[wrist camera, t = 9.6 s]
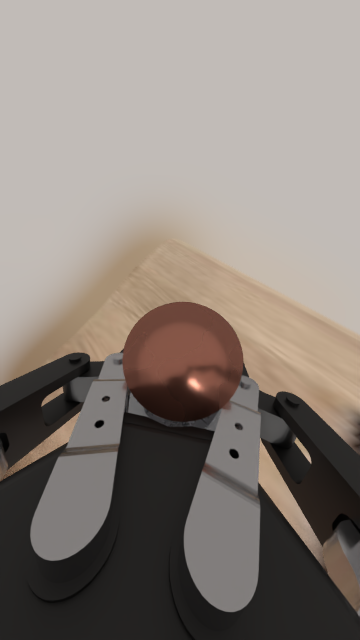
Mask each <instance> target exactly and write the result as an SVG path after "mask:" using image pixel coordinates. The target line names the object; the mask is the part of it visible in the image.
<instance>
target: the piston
mask: <svg viewBox="0 0 360 640" xmlns="http://www.w3.org/2000/svg"><path fill="white" fill-rule="evenodd" d="M122 359H123V372H124V377H125V380H126V383H127V385H128V387H129V390H130V391H131V393H132V394H133V396H134V397H135V399H136V400H137V401H138V402H139V403H140V404H141V405H142V406H143V407H144V408H145V409H146V410H148V411H149V412H151V413H153V414H154V415H156V416H159V417H161V418H163V419H167V420H171V421H177V422H190V421H196V420H200V419H203V418H206V417H208V416H210V415H212V414H214V413H216V412H217V411H219V410H220V409H221V408H223V407H224V406H225V405H226V404H227V403H228V402H229V400H230V399H231V398H232V396H233V395H234V393H235V392H236V390H237V388H238V386H239V383H240V380H241V377H242V372H243V353H242V348H241V345H240V341H239V339H238V337H237V335H236V333H235V331H234V330H233V328H232V327H231V326H230V324H229V323H228V322H227V321H226V320H225V319H224V318H223V317H222V316H221V315H219V314H218V313H217V312H215V311H213V310H212V309H210V308H208V307H205V306H203V305H200V304H196V303H190V302H175V303H169V304H165V305H162V306H159V307H157V308H155V309H153V310H151V311H150V312H148V313H147V314H146V315H144V316H143V317H142V318H141V319H140V320H139V321H138V322H137V323H136V324H135V326H134V327H133V329H132V330H131V332H130V334H129V335H128V338H127V340H126V343H125V346H124V350H123V358H122Z"/></svg>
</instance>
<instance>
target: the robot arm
mask: <svg viewBox="0 0 360 640" xmlns="http://www.w3.org/2000/svg"><path fill="white" fill-rule="evenodd" d="M123 350H124V349H123ZM123 350H122V351H121V352H120V353H114V354H111V355H109V356H108V357H106V359H105V361H100V362H90V356H89V355H88V354H85V353H72V354H68V355H66V356H64V357H62V358H59V359H57V360H55V361H53V362H51V363H49V364H46V365H44V366H42V367H40V368H38V369H36V370H33V371H31V372H29V373H27V374H25V375H23V376H21V377H19V378H16V379H14V380H12V381H10V382H8V383H5V384H3V385H1V386H0V640H360V456H359V455H358V454H357V453H356V452H355V451H354V450H353V449H352V448H351V447H350V446H349V445H348V444H347V443H346V442H345V441H344V440H343V439H342V438H341V437H340V436H339V435H338V434H337V433H336V432H335V431H334V430H333V429H332V428H331V427H330V426H329V425H328V424H327V423H326V422H325V421H324V420H323V419H322V418H321V417H320V416H319V415H318V414H317V413H315V412H314V411H313V410H312V409H311V408H310V407H309V406H308V405H307V404H306V403H305V402H304V401H303V400H302V399H301V398H299V397H298V396H296V395H294V394H292V393H289V392H278V393H277V395H276V397H273V396H271V395H268V394H266V393H264V392H262V391H260V390H259V386H258V384H257V383H256V382H255V381H254V380H253V379H251V378H249V376H248V373H247V370H246V368H245V365H244V363H243V372H242V377H241V380H240V383H239V386H238V388H237V390H236V392H235V393H234V395H233V396H232V398H231V399H230V400H229V402H228V403H227V404H226V405H225V406H224V407H223V408H222V411H221V414H220V417H219V420H218V423H217V427H216V430H215V431H212V430H208V429H203V428H198V427H194V426H186V427H168V426H165V425H163V424H161V423H159V422H157V421H155V420H153V419H151V418H149V417H146V416H142V415H137V414H132V413H128V411H129V401H130V393H131V391H130V390H129V387H128V385H127V383H126V380H125V377H124V372H123V359H122V358H123ZM62 386H63V392H64V393H62V394H61V395H59V396H58V397H56V398H54V399H53V400H51V401H50V402H48V403H47V404H45V405H44V406H42V407H41V404H42V401H43V400H44V398H45V397H46V396H48V395H49V394H51V393H52V392H54V391H55V390H57V389H59V388H60V387H62ZM80 411H81V412H80ZM79 412H80V414H79V417H78V419H77V422H76V424H75V427H74V429H73V432H72V434H71V437H70V440H69V442H68V443H66V444H64V445H62V446H61V447H59V448H57V449H56V450H54V451H52V452H50V453H49V454H47V455H45V456H43V457H42V458H40V459H38V460H37V461H35V462H33V463H31V464H30V465H28V466H26V467H24V468H23V469H21V470H19V471H18V472H16V473H14V474H12V475H11V476H9V477H7V478H5V479H4V480H2V481H1V479H2V478H3V477H4V475H5V473H6V471H7V470H8V469H9V468H10V467H12V466H13V465H14V464H15V463H17V462H18V461H19V460H20V459H22V458H23V457H24V456H25V455H26V454H28V453H29V452H30V451H31V450H33V449H34V448H35V447H36V446H38V445H39V444H40V443H41V442H43V441H44V440H45V439H46V438H48V437H49V436H50V435H51V434H53V433H54V432H55V431H56V430H57V429H59V428H60V427H61V426H62V425H64V424H65V423H66V422H67V421H69V420H70V419H71V418H72V417H74V416H75V415H76V414H77V413H79ZM296 437H297V438H298V439H299V441H300V442H301V443H302V444H303V446H304V447H305V448H306V450H307V451H308V453H309V455H310V457H311V462H312V464H310V462H309V461H308V460H307V458H306V457H305V456H304V454H303V453H302V452H301V450H300V449H299V448H298V446H297V445H296V444H295V442H294V441H295V439H296ZM260 438H261V441H262V443H263V445H264V446H265V448H266V450H267V452H268V453H269V455H270V457H271V459H272V460H273V462H274V464H275V465H276V467H277V469H278V471H279V472H280V474H281V476H282V478H283V479H284V481H285V483H286V484H287V486H288V488H289V490H290V491H291V493H292V495H293V497H294V498H295V500H296V502H297V503H298V505H299V507H300V509H301V510H302V512H303V514H304V516H305V517H306V519H307V521H308V522H309V524H310V526H311V528H312V529H313V531H314V533H315V535H316V536H317V538H318V540H319V541H320V543H321V545H322V547H323V558H324V561H325V565H326V567H327V570H328V572H329V574H327V572H326V571H325V570H324V568H323V567H322V566H321V564H320V563H319V562H318V561H317V559H316V558H315V557H314V555H313V554H312V553H311V551H310V550H309V549H308V547H307V546H306V545H305V543H304V542H303V541H302V539H301V538H300V537H299V535H298V534H297V533H296V531H295V530H294V529H293V528H292V526H291V525H290V524H289V522H288V521H287V520H286V518H285V517H284V516H283V514H282V513H281V512H280V510H279V509H278V508H277V506H276V505H275V504H274V502H273V501H272V500H271V498H270V497H269V496H268V495H267V493H266V492H265V491H264V489H263V488H262V487H261V485H260V484H259V483H258V473H259V448H260Z"/></svg>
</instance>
